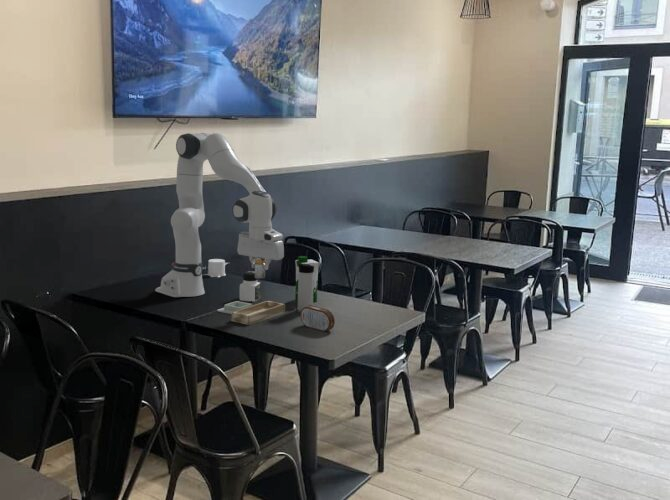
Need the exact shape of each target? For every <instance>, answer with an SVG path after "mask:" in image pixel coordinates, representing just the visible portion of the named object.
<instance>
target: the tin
mask: <svg viewBox="0 0 670 500" xmlns="http://www.w3.org/2000/svg"><path fill="white" fill-rule="evenodd" d="M300 320H301V322H302V324H303V325H304V326H305V327H306V328H310V329H313V330H315V331H320V332H328V331H330V330H332V329H334V327H335V322H336V321H335V317H334V315H333V313H332V312H331V311H330V310H329V309H327V308H323V307H321V306H316V305H314V304H313V305H308V306H306V307H304V308H303V309H302V310H301V312H300Z"/></svg>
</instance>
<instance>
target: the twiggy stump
mask: <svg viewBox="0 0 670 500" xmlns="http://www.w3.org/2000/svg"><path fill="white" fill-rule="evenodd" d="M207 261H208V270H207V273H206V274H205V273H204V276H209V277H210V278H220V277H225V276H227V274H226V265H227V264H229V262H226V260H225V259H222V258H212V259H211V258H210V259H209V260H207Z"/></svg>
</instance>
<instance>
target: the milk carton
mask: <svg viewBox="0 0 670 500" xmlns="http://www.w3.org/2000/svg"><path fill="white" fill-rule="evenodd" d="M308 257H309V256H306V255H305V256H304V255H300V256H299V255H298V256H297V259H296V260H295V259H294V260H295V297H294V299H295V301H297V302H298V276H299V264H309V265H311V266H314V288H313V303H317V302H318V283H319V282H318V281H319V280H318V278H319V276H318V274H319V267H320V266H319V265H320V263H319V262H318V261H316V260H314V259H308Z"/></svg>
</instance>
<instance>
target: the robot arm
mask: <svg viewBox="0 0 670 500" xmlns="http://www.w3.org/2000/svg"><path fill="white" fill-rule="evenodd" d="M175 149H176V152H177V154H178V160H177V164H176V165H177V166H176V181H175V182H176V183H175V184H176V189H175V190H176V194H177V198H178V206H179V207H178V208H177V209H176V210H175V211H174V212H173V213H172V215H171V218H170V225H171V227H172V231H173V237H174V243H175V261H174V262H171V263H170V264H171V265H170V266H171V267H172V269H171V270H170V271H168V273H166V274H165V275H164V276H163V277H162V278H161V279H160V280H161V281H160V286H159V287H156V288H155V289H154V290H155V291H154V292H156V293H159V294H163V295H165V296H169V297H172V298H181V297H182V298H183V297H184V298H185V297H187V298H188V297H189V298H190V297H198V296H202V295H204V294H206V292H205V288H204V281H203V274H202V271H203V261H202V243H201V240H200V235H199V234H200V233H199V227H201V226H202V225H203V223H204V222H205V219H206V213H205V205H204V197H203V180H204V179H203V177H204V169H203V168H204V163H205V161H207V160H208V163H209V166H210V168H211V170H212V171H213V173H214V174H215V175H216V176H217V177H219V178H220V179H223V180H226V181H227V180H228V181H232V182H234V183H237V184H240V185H242V186H243V187H244V188H245V190H246V191H247V192H248V193H249V195H247V196H245V197H242V198H238V199H235V201H234V202H233V205H232V211H231V212H232V215H233V218H234V219H235V221H236V222H239V223H249V225H248V231H241V232H240V233H239V234H238V242H237V248H236V249H237V253H238V255H240V256H246V257H249V258H248V259H249V261H250V263H251V268H252V269H255V257H259V258H265V265H263V269H264V270H265V271H267V270H269V265H270V263H271V262H272V260H274V261H281V260H283V258H285V246H284V241H282V240H283V238H284V235H283V234H282V233H281V232H279V231H277V230H275V229H274V228H273V223H272V220H273V219H274V218H275V217H276V214H277V209H278V208H277V205H276V201H274V199H273V198H272V197H271V194H270V193H268V192H267V191H266V190H265V188H264V187H263V186H262V184H261V182H260V181H259V179H258V178H257V177H256V175H255V174H254V172H253V171H252V170H251V169H250V168H249V167H248V166H247V165H246V164H244V162H242V161H241V160H240V158H239V157H238V156H237V155H236V153H235V151H234V148H233V147H232V145H231V144H230V143H229V141H228V139H227V138H226V137H225V136H224V135H223V134H222V133H219V132H216V133H215V132H214V133H205V132H200V133H183V134H181V135H179V136H178V138H177V139H176V143H175Z"/></svg>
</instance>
